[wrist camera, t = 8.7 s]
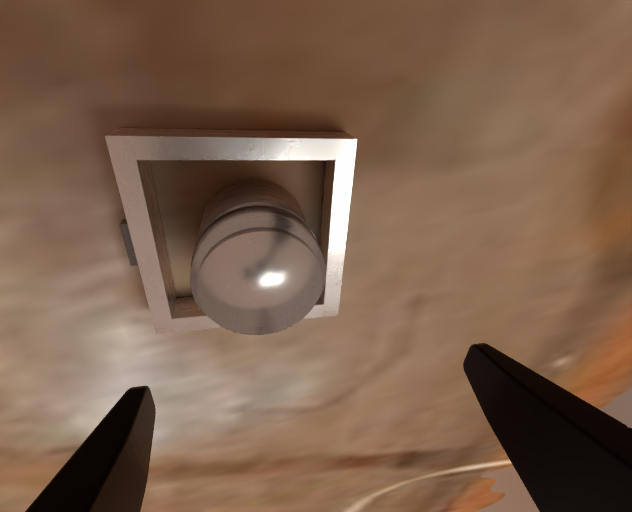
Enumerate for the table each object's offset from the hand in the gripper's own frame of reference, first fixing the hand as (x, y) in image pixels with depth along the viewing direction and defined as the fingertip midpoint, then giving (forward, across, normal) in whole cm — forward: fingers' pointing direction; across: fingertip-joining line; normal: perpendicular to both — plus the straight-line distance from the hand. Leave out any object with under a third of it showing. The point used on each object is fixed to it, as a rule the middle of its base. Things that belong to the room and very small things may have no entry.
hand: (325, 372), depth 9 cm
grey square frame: (+12, +2, +1) cm, 12 cm away
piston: (+12, +1, +1) cm, 12 cm away
